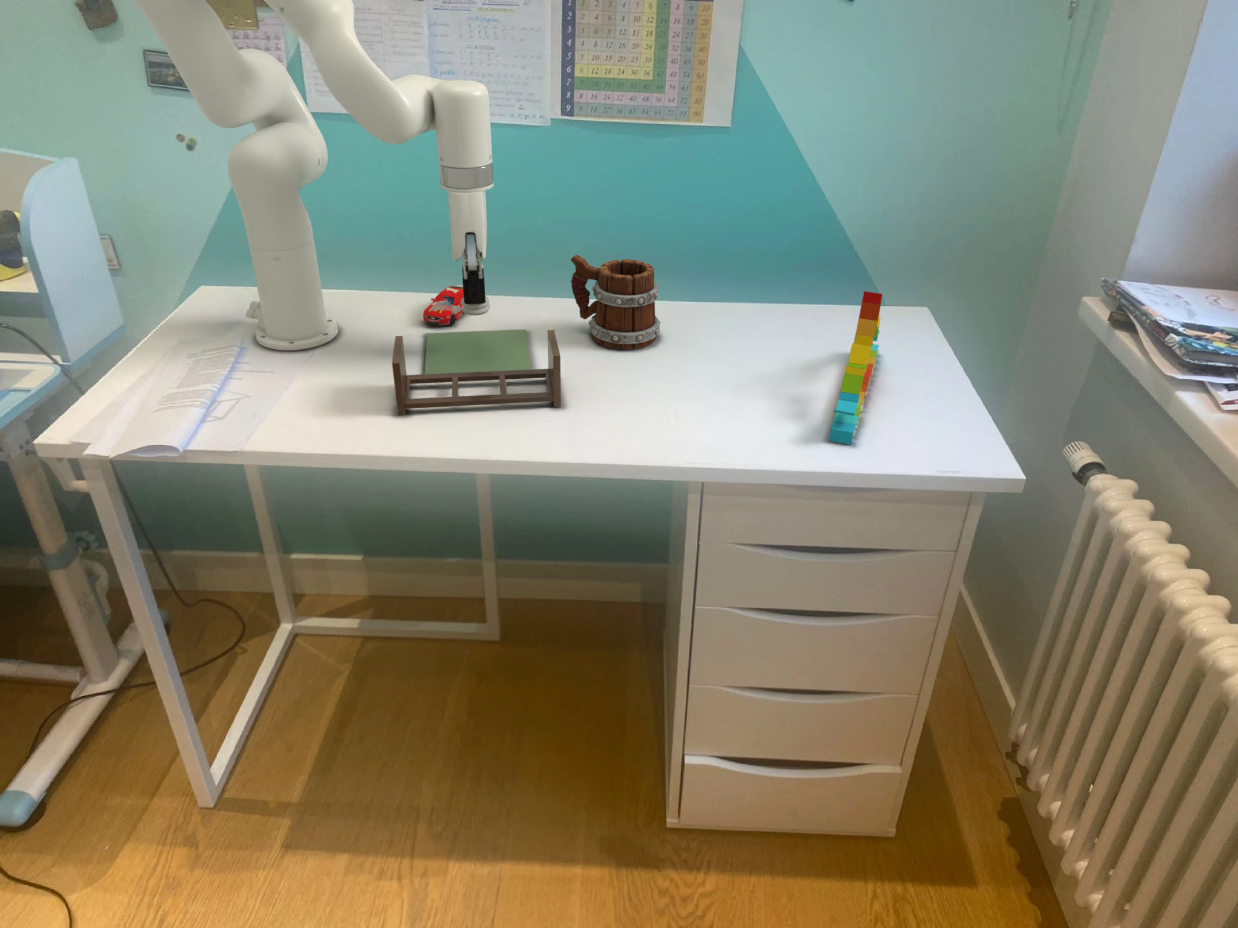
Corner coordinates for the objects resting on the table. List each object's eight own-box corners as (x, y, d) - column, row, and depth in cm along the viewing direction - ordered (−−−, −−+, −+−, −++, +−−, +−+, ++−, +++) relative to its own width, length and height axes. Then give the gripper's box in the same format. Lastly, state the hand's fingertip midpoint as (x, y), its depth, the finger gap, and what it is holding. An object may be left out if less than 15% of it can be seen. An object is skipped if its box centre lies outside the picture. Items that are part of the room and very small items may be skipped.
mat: (427, 335, 150) (426, 333, 150) (525, 331, 152) (525, 329, 152) (424, 379, 137) (424, 376, 136) (532, 374, 139) (532, 371, 139)
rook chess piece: (495, 307, 142) (492, 257, 138) (482, 318, 138) (479, 267, 134) (469, 303, 143) (465, 253, 139) (455, 313, 139) (451, 263, 135)
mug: (656, 355, 145) (644, 263, 138) (571, 357, 149) (555, 268, 142) (672, 327, 155) (661, 239, 147) (592, 330, 159) (578, 245, 152)
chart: (852, 445, 123) (871, 342, 115) (828, 440, 124) (845, 338, 116) (878, 356, 147) (895, 266, 140) (858, 353, 148) (873, 263, 140)
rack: (400, 386, 134) (395, 335, 130) (554, 379, 138) (554, 329, 133) (397, 415, 127) (391, 363, 123) (561, 407, 130) (560, 355, 126)
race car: (447, 331, 152) (445, 308, 150) (418, 326, 153) (415, 303, 151) (483, 303, 162) (481, 281, 160) (455, 298, 164) (453, 277, 162)
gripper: (440, 161, 136) (449, 279, 146) (438, 192, 122) (449, 320, 132) (491, 160, 137) (497, 278, 147) (495, 190, 123) (502, 318, 133)
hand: (474, 297), depth 139 cm, fingers closed on rook chess piece, 3 cm apart
